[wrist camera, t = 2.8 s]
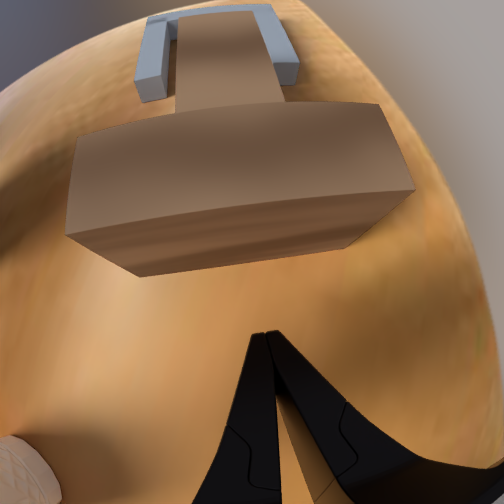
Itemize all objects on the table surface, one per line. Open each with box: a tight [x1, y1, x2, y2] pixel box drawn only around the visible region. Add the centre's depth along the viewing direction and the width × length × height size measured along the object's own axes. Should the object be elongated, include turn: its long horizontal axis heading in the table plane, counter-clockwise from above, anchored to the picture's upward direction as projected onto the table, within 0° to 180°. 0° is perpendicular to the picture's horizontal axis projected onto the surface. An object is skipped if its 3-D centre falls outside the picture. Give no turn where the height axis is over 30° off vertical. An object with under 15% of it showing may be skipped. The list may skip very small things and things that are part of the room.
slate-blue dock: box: [134, 4, 300, 103], centre depth 19 cm, size 11×12×2 cm
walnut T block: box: [65, 11, 416, 277], centre depth 14 cm, size 12×12×8 cm
